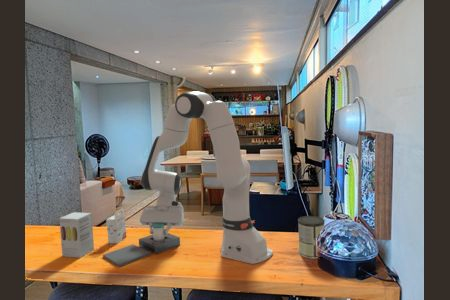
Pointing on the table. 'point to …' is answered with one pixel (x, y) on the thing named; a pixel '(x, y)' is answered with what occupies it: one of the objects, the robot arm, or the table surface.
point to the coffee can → (309, 235)
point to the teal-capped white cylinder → (158, 231)
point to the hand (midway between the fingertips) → (158, 233)
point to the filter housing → (159, 243)
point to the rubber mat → (126, 255)
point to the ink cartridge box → (116, 227)
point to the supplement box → (76, 234)
